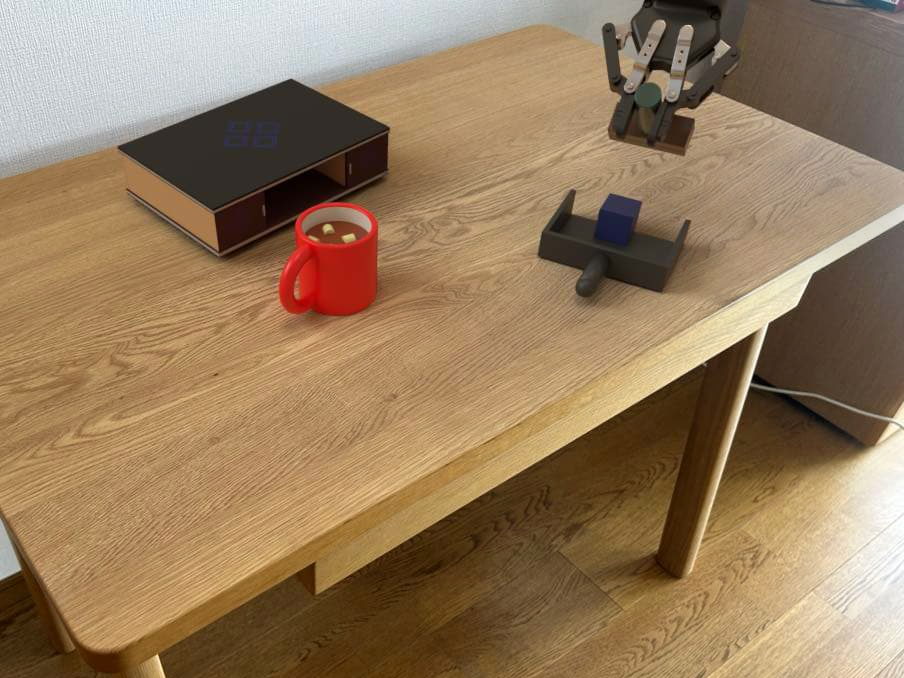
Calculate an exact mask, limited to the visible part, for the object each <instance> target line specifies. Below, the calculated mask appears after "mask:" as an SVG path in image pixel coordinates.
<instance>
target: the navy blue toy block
mask: <svg viewBox="0 0 904 678" xmlns="http://www.w3.org/2000/svg"><path fill="white" fill-rule="evenodd" d="M642 204H643V201H642V200H639V199H634V198H631V197H627V196H623V195H621V194H620V195H619V194H616V193H612V192H609V194H608V195H607V196H606V198H605V199H604V202H603V203H602V205H600V207H599V211H598V215H597V219H596V221H597V224H596V228H595V232H594V237H595V238H598V239H602V240H605V241H609V242H613V243H616V244H620V245H623V246H626V245H627V243H628V241H629V239H630V238H631V236H632V234H633V232H634V231H636V227H637V224H638V219H639V216H640V213H641V208H642V206H643V205H642Z"/></svg>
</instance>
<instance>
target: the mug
mask: <svg viewBox="0 0 904 678" xmlns="http://www.w3.org/2000/svg"><path fill="white" fill-rule="evenodd" d="M294 229H295V230H294V232H295V234H294V235H295V251H294V252H293V253H292V254H291V255H290V256H289V258H288V259H287V261H286V262H285V264H284V267H283V268H282V272H281V274H280V277H279V281H278V299H279V302H280V305H281V306H282V308H283V309H284V310H285V311H286V312H287V313H289V314H292V315H302V314H304V313H306V312H308V311H310V310H311V311H314V312H316V313H319V314H321V315H326V316H349V315H352V314H357V313H359V312H361V311H363V310H365V309H367V308H368V307H370V306H371V304H372V303H374V301H375V299H376V297H377V292H378V253H379V251H378V250H379V248H378V247H379V223H378V220H377V218H376V216H375V215H374V214H373V213H372V212H371V211H369V210H368V209H366V208H365V207H362V206H360V205H357V204H354V203H348V202H340V201H339V202H337V201H336V202H335V201H334V202H330V203H324V204H320V205H316V206H314V207H311V208H309V209H308V210H306V211H304V212H303V213H302V214H301V215H300V216H299V217H298V219H296V220H295V224H294ZM296 282H297V284H298V285H297V286H298V296H299V298H296V296H295V286H296Z"/></svg>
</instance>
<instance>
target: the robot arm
mask: <svg viewBox="0 0 904 678" xmlns="http://www.w3.org/2000/svg"><path fill="white" fill-rule="evenodd" d="M730 1H731V0H643V1H642V5H641V7H640V9H639V10H638V11H637V12H636V13H635V14H634V15H633V16H632V17H631V19H630V22H625V23H621V24H618V25H614V23H612V22H606V23H604V24H603V26H602V27H601V34H602V42H603V50H604V58H605V64H606V71H607V72H606V73H607V79H608V86H609V90H610V92H612V93H614V94H615V93H616V94H618V95H619V97H620V99H619V101H618V102H619V104H618V107H617V110H616V113H615V115H614V118H613V131H614V132H616V139H620V140H624V139H625V136H626V134H627V131H628V128H629V126H630V123H631V120H632V117H633V115H634V112H635V109H636V105H635V92H636V90H637V88H638V87H639V86H640V85H642V84H644V83H647V82H649V80H650V77H651V76H652V74H653V72H654V71H664V72H665V73H668V74H669V78H668V83H667V87H666V91H665V96H664V98H663V100H662V101H661V102H660V104H659V107H658V110H657V112H656V115H655V118H654V121H653V123H652V126H651V129H650V131H649V134H648V137H647V146H650V147H655V145H656V143H657V142H661V143H662V142H663V140H664V139H665V138H666V135H667V133H668V130H669V127H670V125H671V122H672V119H673V116H674V114H676V112H677V111H679V110H681V109H689V110H691V111H693V110H696V109H698V108H699V107H700V106H701V105H702V104H703V103H704V102H705V101H706V100H707V99H709V97H710V96H711V95H712V94H713V93H714V92H715V91H716V90H717V89H718V88H719V87H720V86H721V85H722V84H723V83H724V82H725V81H726V80H727V79H729V78H730V76H732V74H733V73H735V71H736V70H737V69H738V68H739V66H740V63H741V56H742V50H741V48H740V47H738V46H732V47H731V46H730V45H728V43H726V42H725V41H724V40H723V39H722V35H723V34H722V23H723V20H724V17H725V15H726V12H727V10H728V7H729V5H730ZM630 37H631V38H632V41H633V45H634V48H635V50H636V54H637V57H636V59H635V60H634V62H633V66H632V69H631V72H630V73H629V75H628V77H627V76H624V74H622V70H621V63H620V56H619V55H620V54H619V52H620V51H622V50H624V49H625V47H626V42H627V41H628V39H629V38H630ZM712 53H714V54H713V56H712V58H711V63H710V64H711V66H710V67H709V69H707V71H705V73H703V74H702V75H701V76H700V77H699V78H698V79H697V80H696V82H694V83H693V84H692V85H691V86H690V87H689V88H686V89H684V87H685V84H686V83H685V82H686V78H687V73H688V71H689V70H691V69H693V68H694V67H695V66H697V65H698V64H699V63H701V62H702V61H703V60H704V59H706V58H707V57H709V55H711V54H712Z"/></svg>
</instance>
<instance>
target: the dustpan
mask: <svg viewBox="0 0 904 678" xmlns="http://www.w3.org/2000/svg"><path fill="white" fill-rule="evenodd" d="M576 195H577V190H576V189H573V188H571V189H570V190H569V191H568V193H567V194H566V196H565V197H564V199H563V200H562V202H561V203H560V205H559V206H558V207H557V209H556V210H555V212H554V213H553V215H552V216H551V218H550V219H549V221H548V222H547V223H546V225H545V226H544V228H543V229H542V230H541V233H540V238H539V245H538V249H537V250H538V251H537V256H538V257H540V258H545V259H547V260H551V261H555V262H558V263H561V264H565V265H568V266H572V267H574V268H579V269H581V270H583V271H582V273H581V274H580V276H579V277H578V279H577V281H576V283H575V286H574V290H575V293H576V295H577V296H579V297H580V298H583V299H587V298H591V297H592V296H593V295H594V294H595V292H596V291H597V289H598V288H599V285H600V284H601V282H602V280H603V278H604V277H605V276H606V277H609V278H613V279H616V280H619V281H623V282H627V283H630V284H633V285H637V286H640V287H643V288H647V289H650V290H653V291H657V292H660V293H661V292H662V291H663V290H664V287H665V286H666V283H667V282H668V279H669V277H670V275H671V273H672V270H673V269H674V267H675V265H676V262H677V260H678V258H679V256H680V254H681V252H682V251H683V248H684V245H685V242H686V239H687V236H688V233H689V230H690V227H691V224H692V220H691V219H687V218H685V220H684V222H683V224H682V226H681V228H680V230H679V232H678V234H677V236H676V238H675V240H674V241H673V240H669V239H664V238H661V237H658V236H654V235H651V234H647V233H643V232H639V231H636V230H635V231H634V232H633V234H632V236H631V238H630V239H629V241H628V243H627V245H626V246H623V245H620V244H616V243H613V242H609V241H605V240H602V239H598V238H595V237H594V232H595V228H596V224H597V219H591V218H589V217H584V216H582V215H581V216H580V215H578V214H573V208H574V204H575V200H576Z"/></svg>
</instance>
